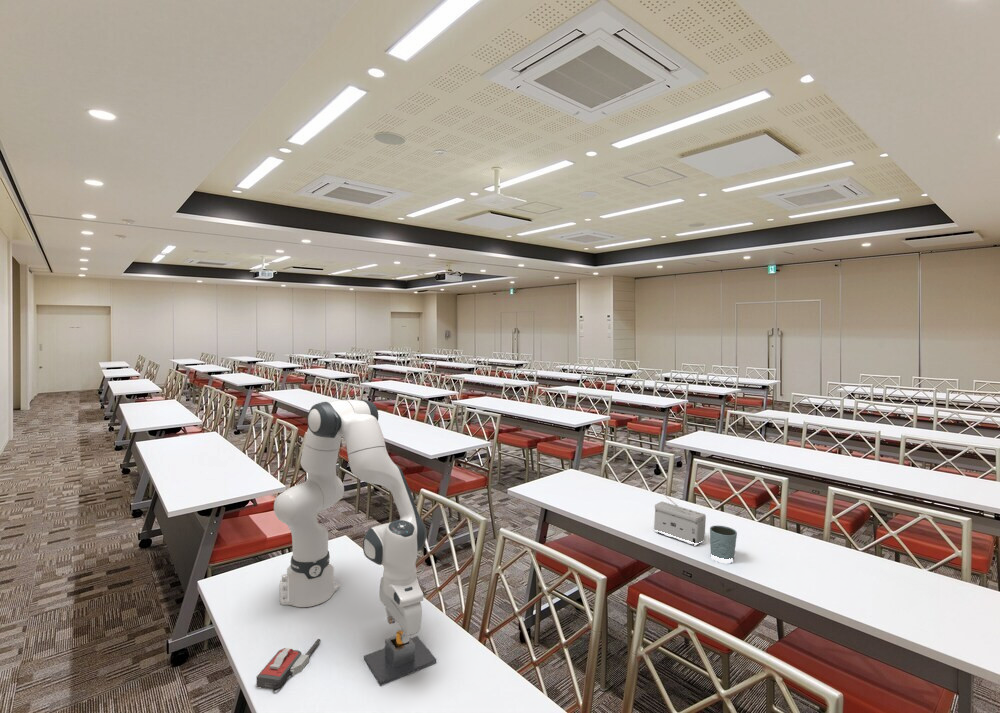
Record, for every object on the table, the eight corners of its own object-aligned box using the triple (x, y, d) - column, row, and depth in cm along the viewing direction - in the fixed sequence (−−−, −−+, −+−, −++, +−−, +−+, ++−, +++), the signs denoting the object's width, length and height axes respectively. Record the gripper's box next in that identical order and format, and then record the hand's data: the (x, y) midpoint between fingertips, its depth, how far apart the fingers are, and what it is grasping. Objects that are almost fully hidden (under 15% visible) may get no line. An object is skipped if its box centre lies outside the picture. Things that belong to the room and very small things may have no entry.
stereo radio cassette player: (705, 543, 217) (707, 498, 215) (696, 548, 211) (699, 502, 210) (660, 528, 232) (662, 485, 230) (651, 532, 226) (653, 489, 225)
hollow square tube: (385, 655, 137) (385, 639, 137) (405, 647, 140) (405, 632, 140) (393, 667, 132) (394, 651, 132) (414, 659, 135) (414, 643, 135)
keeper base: (363, 659, 136) (363, 631, 136) (417, 639, 146) (417, 612, 145) (380, 686, 127) (380, 655, 126) (436, 662, 136) (436, 634, 135)
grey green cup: (722, 566, 196) (724, 537, 195) (702, 555, 205) (704, 527, 204) (741, 562, 200) (742, 533, 199) (720, 551, 209) (722, 523, 208)
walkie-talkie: (284, 695, 123) (323, 644, 143) (284, 678, 123) (323, 629, 142) (251, 691, 124) (294, 641, 144) (251, 674, 124) (294, 626, 144)
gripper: (374, 568, 141) (373, 615, 142) (403, 604, 125) (401, 657, 126) (395, 563, 145) (393, 608, 146) (426, 597, 128) (424, 649, 129)
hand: (397, 631), depth 136 cm, fingers open, 8 cm apart
